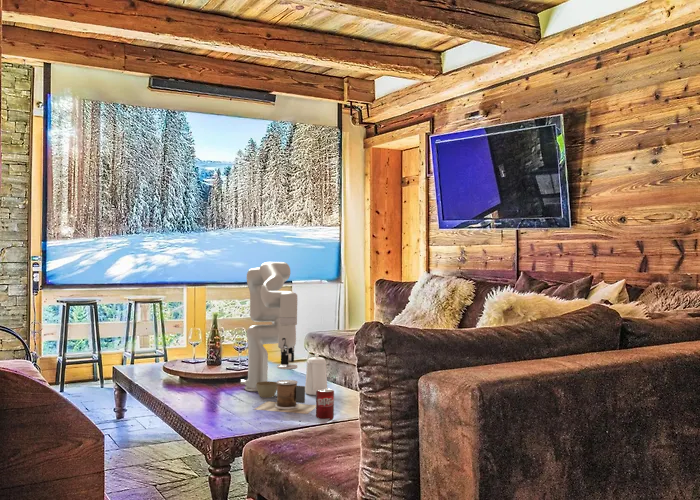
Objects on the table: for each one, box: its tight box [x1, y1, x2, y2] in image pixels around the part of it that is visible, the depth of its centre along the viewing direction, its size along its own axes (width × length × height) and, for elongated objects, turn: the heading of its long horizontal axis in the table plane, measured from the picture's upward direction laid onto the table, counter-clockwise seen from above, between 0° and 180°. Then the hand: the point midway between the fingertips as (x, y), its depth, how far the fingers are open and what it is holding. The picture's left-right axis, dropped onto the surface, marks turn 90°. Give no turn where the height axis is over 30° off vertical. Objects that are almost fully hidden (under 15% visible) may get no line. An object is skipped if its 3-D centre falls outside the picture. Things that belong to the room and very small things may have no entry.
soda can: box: [315, 387, 335, 422], centre depth 269 cm, size 7×7×12 cm
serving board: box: [253, 400, 316, 415], centre depth 284 cm, size 24×16×1 cm, turn 76°
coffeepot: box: [304, 353, 328, 396], centre depth 318 cm, size 11×25×19 cm, turn 168°
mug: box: [275, 379, 306, 410], centre depth 283 cm, size 13×10×11 cm
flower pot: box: [256, 380, 277, 399], centre depth 305 cm, size 10×10×7 cm
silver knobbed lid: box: [276, 353, 298, 370], centre depth 284 cm, size 9×9×6 cm
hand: (287, 362), depth 284 cm, fingers open, 6 cm apart
